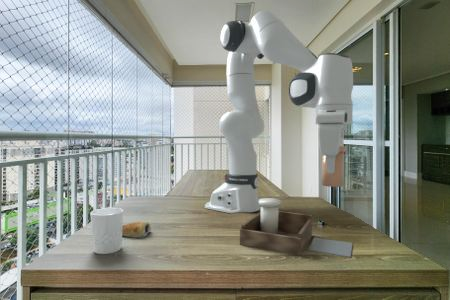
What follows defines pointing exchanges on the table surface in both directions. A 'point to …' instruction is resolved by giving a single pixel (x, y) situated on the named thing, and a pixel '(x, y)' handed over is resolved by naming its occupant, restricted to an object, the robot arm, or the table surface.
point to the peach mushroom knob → (337, 176)
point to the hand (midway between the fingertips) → (332, 171)
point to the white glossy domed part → (269, 215)
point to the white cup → (107, 230)
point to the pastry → (136, 229)
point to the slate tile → (331, 247)
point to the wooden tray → (279, 233)
